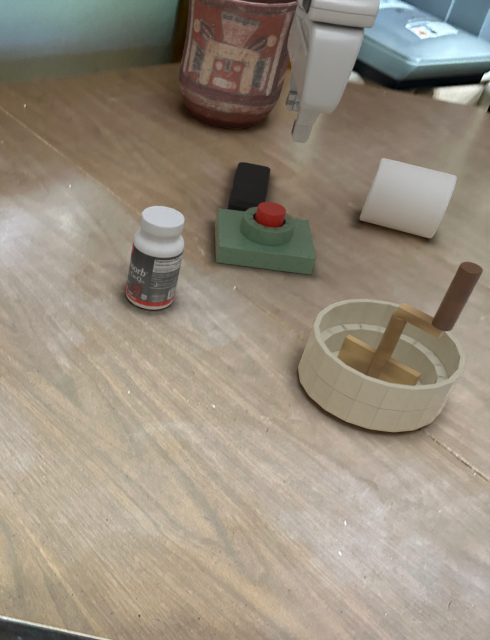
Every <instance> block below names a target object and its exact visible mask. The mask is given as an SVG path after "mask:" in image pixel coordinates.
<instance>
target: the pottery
mask: <svg viewBox="0 0 490 640" xmlns="http://www.w3.org/2000/svg"><path fill="white" fill-rule="evenodd" d="M297 4H298V1H297V0H188V13H187V24H186V33H185V40H184V45H183V52H182V56H181V61H180V66H179V75H178V84H179V85H178V86H179V91H180V94H181V97H182V100H183V102H184V104H185V106H186V107H187V109H188V111H189V112H190V113H191V115H192V117H194V118H196V119H197V120H198V121H200V122H202V123H204V124H207V125H209V126H214V127H218V128H223V129H233V130H234V129H235V130H237V129H248V128H251V127H255V126H256V125H257V124H258V123H259V122H261V121H262V120H263V119H265V118H266V117H267V116H268V115H269V114H270V113H271V112H272V110H273V109H274V108H275V107H276V105H277V103H278V101H279V99H280V97H281V94H282V91H283V88H284V87H283V86H284V83H285V78H286V74H287V69H288V65H289V62H290V58H289V53H288V49H287V44H288V37H289V32H290V29H291V25H292V22H293V18H294V14H295V11H296V7H297Z"/></svg>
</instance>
